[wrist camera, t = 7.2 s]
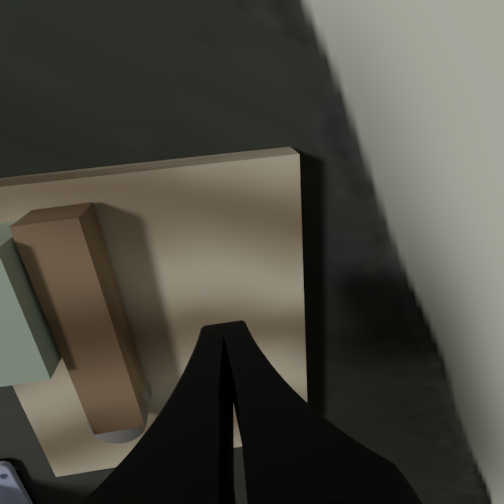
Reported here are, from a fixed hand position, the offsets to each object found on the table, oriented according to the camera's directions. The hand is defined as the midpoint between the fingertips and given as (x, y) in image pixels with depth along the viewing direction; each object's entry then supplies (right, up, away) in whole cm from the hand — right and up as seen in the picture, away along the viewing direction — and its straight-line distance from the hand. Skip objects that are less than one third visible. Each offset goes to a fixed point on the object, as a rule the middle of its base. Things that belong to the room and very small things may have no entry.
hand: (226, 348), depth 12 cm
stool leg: (-7, 0, +6) cm, 9 cm away
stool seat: (-4, -1, +9) cm, 10 cm away
